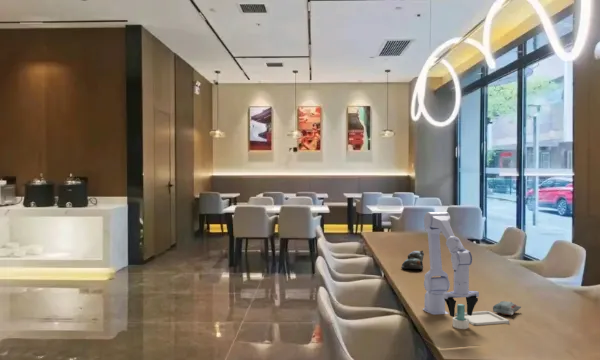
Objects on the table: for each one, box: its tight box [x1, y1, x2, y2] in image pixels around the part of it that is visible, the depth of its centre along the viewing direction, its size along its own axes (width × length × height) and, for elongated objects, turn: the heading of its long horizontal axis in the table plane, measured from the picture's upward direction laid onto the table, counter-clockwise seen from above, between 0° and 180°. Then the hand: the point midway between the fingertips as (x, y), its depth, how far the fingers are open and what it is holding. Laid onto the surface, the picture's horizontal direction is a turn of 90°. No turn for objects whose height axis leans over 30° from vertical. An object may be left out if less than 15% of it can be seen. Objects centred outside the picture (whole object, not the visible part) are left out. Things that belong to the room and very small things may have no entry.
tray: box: [454, 310, 510, 326], centre depth 206 cm, size 14×16×2 cm
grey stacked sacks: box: [400, 250, 425, 271], centre depth 311 cm, size 15×12×14 cm
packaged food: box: [492, 300, 522, 316], centre depth 216 cm, size 9×12×5 cm
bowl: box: [452, 316, 470, 330], centre depth 196 cm, size 6×6×4 cm
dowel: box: [456, 303, 466, 321], centre depth 196 cm, size 3×3×8 cm
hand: (460, 315), depth 196 cm, fingers open, 7 cm apart
